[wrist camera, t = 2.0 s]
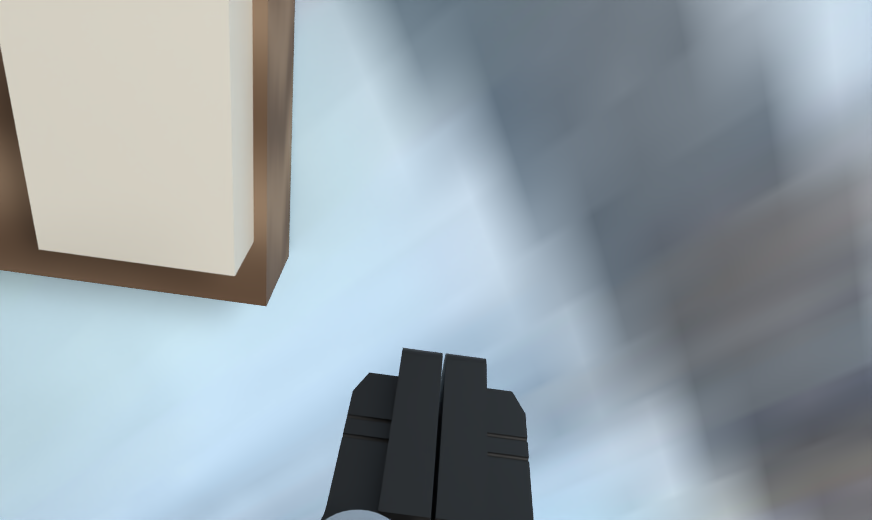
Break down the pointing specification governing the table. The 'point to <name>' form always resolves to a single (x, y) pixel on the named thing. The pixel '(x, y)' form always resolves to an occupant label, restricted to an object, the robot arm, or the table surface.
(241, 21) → the cream rectangular tile
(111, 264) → the deck
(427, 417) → the robot arm
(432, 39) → the table surface
